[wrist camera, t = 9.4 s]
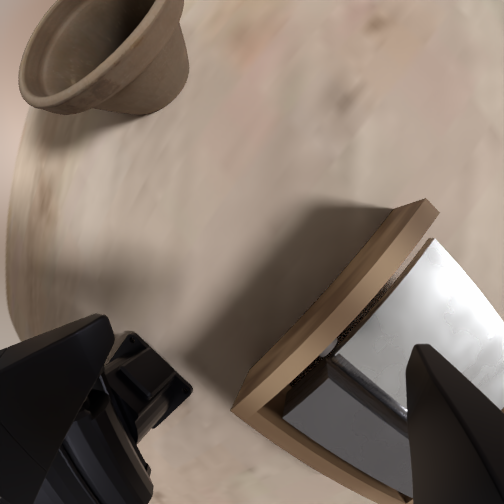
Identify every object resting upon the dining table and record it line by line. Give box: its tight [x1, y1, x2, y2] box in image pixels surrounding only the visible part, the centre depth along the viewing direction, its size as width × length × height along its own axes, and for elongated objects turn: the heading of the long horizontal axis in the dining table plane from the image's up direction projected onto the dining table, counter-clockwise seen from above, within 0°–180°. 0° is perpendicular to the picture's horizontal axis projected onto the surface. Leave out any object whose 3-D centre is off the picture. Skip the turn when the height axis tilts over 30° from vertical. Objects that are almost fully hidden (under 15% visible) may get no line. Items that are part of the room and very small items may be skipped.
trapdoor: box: [282, 238, 504, 498], centre depth 13 cm, size 12×13×3 cm
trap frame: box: [230, 198, 504, 504], centre depth 15 cm, size 14×16×6 cm
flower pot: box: [19, 0, 189, 115], centre depth 15 cm, size 12×11×10 cm
